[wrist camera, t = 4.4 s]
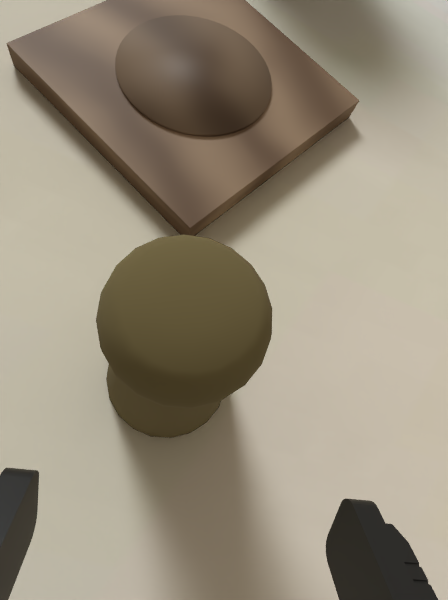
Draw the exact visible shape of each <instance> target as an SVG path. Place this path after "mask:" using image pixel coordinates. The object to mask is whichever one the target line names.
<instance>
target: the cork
mask: <svg viewBox="0 0 448 600" xmlns="http://www.w3.org/2000/svg"><path fill="white" fill-rule="evenodd" d="M96 323H97V329H98V335H99V341H100V347H101V350H102V352H103V354H104V356H105V357H106V359H107V361H108V363H109V366H108V373H107V379H106V380H107V386H108V392H109V398H110V400H111V402H112V404H113V405H114V407H115V409H116V411H117V413H118V415H119V416H120V417H121V418H122V419H123V420H125V421H126V422H127V423H128V424H129V425H130V426H131V427H132V428H133V429H136V430H138V431H140V432H143V433H145V434H147V435H150V436H155V437H169V438H172V437H176V436H179V435H183V434H187V433H190V432H192V431H194V430H195V429H197V428H198V427H200V426H201V425H203V424H204V423H206V422H207V421H208V420H209V418H210V417H211V416H212V415H213V413H214V412H215V411H216V410H217V408H218V407H219V405H220V402H221V400H222V399H224V398H225V397H227V396H228V395H230V394H232V393H233V392H235V391H236V390H238V389H239V388H241V387H243V386H244V385H245V384H246V383H247V382H248V381H249V379H250V378H251V377H252V376H253V374H254V373H255V372H256V371H257V369H258V368H259V367H260V366H261V364H262V362H263V359H264V356H265V354H266V351H267V348H268V345H269V342H270V340H271V334H272V307H271V303H270V300H269V297H268V294H267V290H266V287H265V284H264V283H263V281H262V280H261V278H260V277H259V275H258V274H257V272H256V271H255V269H254V268H253V267H252V265H251V264H250V263H249V262H248V261H246V260H245V259H244V258H243V257H242V256H240V255H239V254H238V253H237V252H236V251H234V250H233V249H232V248H230V247H228V246H225V245H223V244H221V243H219V242H216V241H214V240H212V239H210V238H204V237H198V236H191V235H177V236H169V237H162V238H157V239H155V240H153V241H151V242H149V243H146V244H144V245H142V246H140V247H137V248H135V249H134V250H133V251H132V252H131V253H130V254H129V255H128V256H126V257H125V258H124V259H123V260H122V261H121V262H120V263H119V264H117V265H116V267H115V269H114V271H113V272H112V274H111V276H110V278H109V280H108V281H107V283H106V285H105V287H104V288H103V290H102V292H101V296H100V301H99V307H98V312H97V318H96Z"/></svg>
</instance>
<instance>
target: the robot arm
mask: <svg viewBox="0 0 448 600" xmlns="http://www.w3.org/2000/svg"><path fill="white" fill-rule="evenodd" d="M38 485H39V472H38V471H36V470H26V469H15V468H5V469H4V470H3V472H2V473H1V475H0V600H8V599H9V596H10V594H11V591H12V588H13V586H14V583H15V581H16V578H17V576H18V573H19V570H20V568H21V565H22V563H23V560H24V558H25V555H26V552H27V550H28V547H29V545H30V542H31V539H32V536H33V532H34V529H35V524H36V519H37V506H38ZM326 556H327V561H328V565H329V568H330V571H331V575H332V578H333V581H334V584H335V587H336V591H337V594H338V597H339V600H438V598H437V597H436V595H435V593H434V591H433V589H432V587H431V585H429V584H428V579H427V577H426V575H425V574H424V572H423V570H422V568H421V567H419V562H418V560H417V558H416V556H415V554H414V552H413V550H412V549H411V547H410V545H409V543H408V542H407V540H406V539H405V538H404V537H403V536H402V535H401V534H400V532H399V531H398V530H397V529H396V528H395V527H394V526H393V525H392V524H385V522H384V520H383V518H382V516H381V513H380V511H379V509H378V507H377V506H376V504H375V503H374V502H372V501H366V500H356V499H344V500H343V501H342V502H341V505H340V507H339V509H338V512H337V514H336V517H335V519H334V522H333V524H332V526H331V529H330V531H329V534H328V536H327V541H326Z"/></svg>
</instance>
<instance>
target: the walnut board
mask: <svg viewBox="0 0 448 600" xmlns="http://www.w3.org/2000/svg"><path fill="white" fill-rule="evenodd" d="M7 46H8V49H9V52H10V55H11V58H12V61H13V65H14V66H15V67H16V68H17V69H18V70H19V71H20V72H21V73H22V74H23V75H24V76H25V77H26V78H27V79H28V80H29V81H30V82H31V83H32V84H33V85H34V86H35V87H36V88H37V89H38V90H39V91H40V92H41V93H42V94H43V95H44V96H45V97H46V98H47V99H48V100H49V101H50V102H51V103H52V104H53V105H54V107H55V108H56V109H57V110H58V111H59V112H60V113H61V114H62V115H63V116H64V117H65V118H66V119H67V120H68V121H69V122H70V123H71V124H72V125H73V126H74V127H75V128H76V129H77V130H78V131H79V132H80V133H81V134H82V135H83V136H84V137H85V138H86V139H87V140H88V141H89V142H90V143H91V144H92V145H93V146H94V147H95V148H96V149H97V150H98V151H99V152H100V153H101V154H102V155H103V156H104V157H105V158H106V159H107V160H108V161H109V162H110V163H111V164H112V165H113V166H114V167H115V168H116V169H117V170H118V171H119V172H120V173H121V174H122V175H123V176H124V177H125V178H126V179H127V180H128V182H129V183H130V184H131V185H132V186H133V187H134V188H135V189H136V190H137V191H138V192H139V193H140V194H141V195H142V196H143V197H144V198H145V199H146V200H147V201H148V202H149V203H150V204H151V205H152V206H153V207H154V208H155V209H156V210H157V211H158V212H159V213H160V214H161V215H162V216H163V217H164V218H165V219H166V220H167V221H168V222H169V223H170V224H171V225H172V226H173V227H174V228H175V229H176V230H177V231H178V232H179V233H180V234H181V235H191V236H195V235H196V234H197V233H198V232H200V231H201V230H202V229H204V228H205V227H206V226H208V225H209V224H210V223H212V222H213V221H214V220H215V219H217V218H218V217H219V216H221V215H222V214H223V213H225V212H226V211H227V210H229V209H230V208H231V207H232V206H234V205H235V204H236V203H238V202H239V201H240V200H242V199H243V198H244V197H245V196H247V195H248V194H249V193H251V192H252V191H253V190H255V189H256V188H257V187H259V186H260V185H261V184H262V183H264V182H265V181H266V180H268V179H269V178H270V177H272V176H273V175H274V174H275V173H277V172H278V171H279V170H281V169H282V168H283V167H285V166H286V165H287V164H289V163H290V162H291V161H292V160H294V159H295V158H296V157H298V156H299V155H300V154H302V153H303V152H304V151H305V150H307V149H308V148H309V147H311V146H312V145H313V144H315V143H316V142H317V141H319V140H320V139H321V138H322V137H324V136H325V135H326V134H328V133H329V132H330V131H332V130H333V129H334V128H335V127H337V126H338V125H339V124H341V123H342V122H343V121H345V120H346V119H347V118H349V117H350V115H351V113H352V112H353V110H354V108H355V107H356V105H357V103H358V102H359V100H358V99H357V98H356V97H355V96H354V95H352V94H351V93H350V92H349V91H348V90H347V89H346V88H344V87H343V86H342V85H341V84H340V83H339V82H338V81H336V80H335V79H334V78H333V77H332V76H331V75H330V74H329V73H327V72H326V71H325V70H324V69H323V68H322V67H321V66H319V65H318V64H317V63H316V62H315V61H314V60H313V59H311V58H310V57H309V56H308V55H307V54H306V53H305V52H303V51H302V50H301V49H300V48H299V47H298V46H297V45H296V44H294V43H293V42H292V41H291V40H290V39H289V38H288V37H286V36H285V35H284V34H283V33H282V32H281V31H280V30H278V29H277V28H276V27H275V26H274V25H273V24H272V23H270V22H269V21H268V20H267V19H266V18H265V17H264V16H262V15H261V14H260V13H259V12H258V11H257V10H256V9H255V8H253V7H252V6H251V5H250V4H249V3H248V2H247V1H245V0H107V1H104V2H102V3H100V4H97V5H95V6H93V7H90V8H88V9H85V10H83V11H81V12H78V13H76V14H74V15H71V16H69V17H67V18H64V19H62V20H60V21H57V22H55V23H53V24H50V25H48V26H46V27H43V28H41V29H39V30H36V31H34V32H32V33H29V34H27V35H25V36H22V37H20V38H18V39H15V40H13V41H11V42H8V43H7Z"/></svg>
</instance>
